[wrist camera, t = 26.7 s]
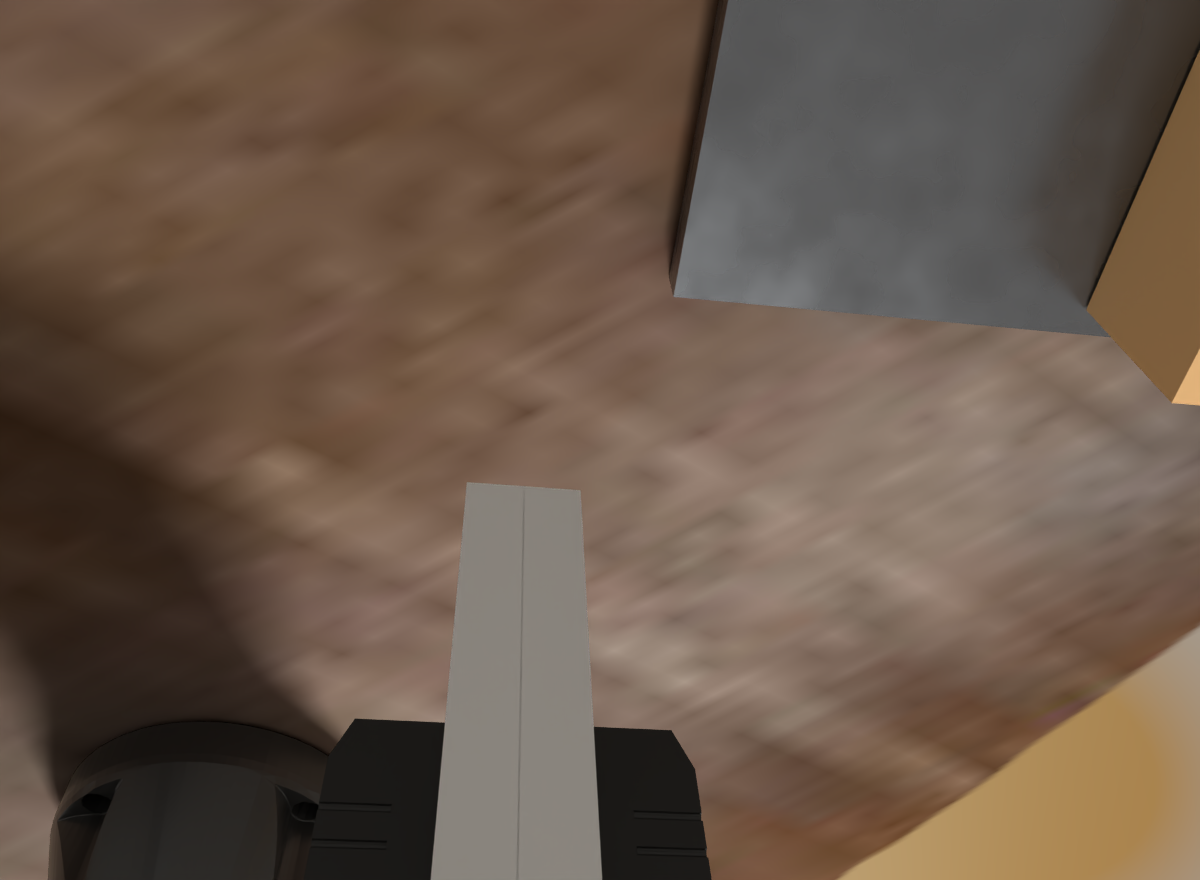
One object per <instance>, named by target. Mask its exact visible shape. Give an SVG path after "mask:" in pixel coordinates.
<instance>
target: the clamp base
mask: <svg viewBox="0 0 1200 880" xmlns="http://www.w3.org/2000/svg"><path fill="white" fill-rule="evenodd" d="M1199 50H1200V0H719V2H718V7H717V13H716V18H715V24H714V29H713V35H712V41H711V46H710V52H709V57H708V63H707V68H706V74H705V79H704V85H703V91H702V96H701V102H700V107H699V113H698V118H697V124H696V130H695V135H694V141H693V146H692V152H691V157H690V163H689V168H688V174H687V180H686V185H685V191H684V196H683V202H682V207H681V213H680V218H679V224H678V230H677V235H676V241H675V246H674V252H673V257H672V263H671V269H670V274H669V280H670V284H671V288H672V292H673V297H682V298H693V299H704V300H715V301H725V302H736V303H747V304H758V305H769V306H780V307H790V308H801V309H812V310H823V311H834V312H844V313H855V314H866V315H877V316H888V317H899V318H909V319H920V320H931V321H942V322H953V323H964V324H974V325H985V326H996V327H1007V328H1018V329H1029V330H1039V331H1050V332H1061V333H1072V334H1083V335H1093V336H1104V337H1110V335H1109V334H1108V333H1107V332H1106V331H1105V330H1104V329H1103V328H1102V327H1101V326H1100V325H1099V324H1098V322H1097V321H1096V320H1095V319H1094V318H1093V317H1092V316H1091V315H1090V314H1089V313H1088V312H1087V310H1086V309H1087V307H1088V305H1089V302H1090V300H1091V298H1092V295H1093V293H1094V291H1095V289H1096V286H1097V284H1098V282H1099V279H1100V277H1101V275H1102V272H1103V270H1104V268H1105V266H1106V263H1107V261H1108V259H1109V256H1110V254H1111V252H1112V250H1113V247H1114V245H1115V243H1116V240H1117V238H1118V236H1119V234H1120V231H1121V229H1122V227H1123V224H1124V222H1125V220H1126V217H1127V215H1128V213H1129V211H1130V208H1131V206H1132V204H1133V201H1134V199H1135V197H1136V195H1137V192H1138V190H1139V188H1140V185H1141V183H1142V181H1143V179H1144V176H1145V174H1146V172H1147V169H1148V167H1149V165H1150V162H1151V160H1152V158H1153V156H1154V153H1155V151H1156V149H1157V146H1158V144H1159V142H1160V140H1161V137H1162V135H1163V133H1164V130H1165V128H1166V126H1167V124H1168V121H1169V119H1170V117H1171V114H1172V112H1173V110H1174V107H1175V105H1176V103H1177V101H1178V98H1179V96H1180V94H1181V91H1182V89H1183V87H1184V85H1185V82H1186V80H1187V78H1188V75H1189V73H1190V71H1191V69H1192V66H1193V64H1194V62H1195V59H1196V57H1197V55H1198V52H1199Z"/></svg>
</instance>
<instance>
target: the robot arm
mask: <svg viewBox="0 0 1200 880" xmlns="http://www.w3.org/2000/svg"><path fill="white" fill-rule="evenodd" d="M706 850H707V846H706V840H705V833H704V826H703V821H701V806H700V800H699V793H698V786H697V780H696V773H695V768H694V767H693V765H692V763H691V762H690V760H689V759H688V757H687V755H686V754H685V752H684V750H683V749H682V747H681V745H680V744H679V742H678V741H677V739H676V737H675V736H674V734H673V732H672V731H671V730H651V729H629V728H606V727H594V724H593V706H592V688H591V670H590V652H589V634H588V617H587V599H586V581H585V563H584V545H583V527H582V509H581V491H580V490H569V489H554V488H540V487H526V486H512V485H498V484H483V483H469V482H467V488H466V499H465V510H464V521H463V532H462V543H461V554H460V565H459V576H458V587H457V597H456V608H455V619H454V630H453V641H452V652H451V663H450V674H449V685H448V696H447V707H446V718H445V723H439V722H417V721H394V720H372V719H355V720H354V721H353V722H352V724H351V725H350V727H349V728H348V729H347V731H346V732H345V734H344V735H343V736H342V738H341V739H340V741H339V742H338V743H337V745H336V746H335V748H334V749H333V750H332V752H331V753H330V755H329V756H327V755H326V754H324V753H322V752H320V751H319V750H317V749H315V748H313V747H311V746H309V745H307V744H305V743H302V742H300V741H298V740H295V739H293V738H290V737H287V736H285V735H281V734H278V733H275V732H272V731H268V730H264V729H260V728H255V727H250V726H245V725H239V724H230V723H220V722H182V723H172V724H164V725H158V726H153V727H149V728H145V729H141V730H137V731H134V732H131V733H128V734H126V735H123V736H120V737H118V738H116V739H114V740H112V741H110V742H108V743H106V744H105V745H103V746H101V747H100V748H98V749H97V750H95V751H94V752H93V753H92V754H90V755H89V756H88V757H87V758H86V759H85V760H84V761H83V762H82V763H81V764H80V765H79V767H78V768H77V769H76V771H75V772H74V774H73V776H72V778H71V780H70V782H69V784H68V786H67V789H66V791H65V793H64V796H63V798H62V800H61V803H60V805H59V807H58V810H57V812H56V814H55V817H54V820H53V824H52V828H51V834H50V848H49V868H48V880H711V873H710V866H709V860H708V858H707V855H706Z"/></svg>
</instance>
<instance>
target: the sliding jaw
mask: <svg viewBox="0 0 1200 880" xmlns="http://www.w3.org/2000/svg"><path fill="white" fill-rule="evenodd" d="M1086 310H1087V312H1088V313H1089V314H1090V315H1091V316H1092V317H1093V318H1094V319H1095V320H1096V321H1097V322H1098V324H1099V325H1100V326H1101V327H1102V328H1103V329H1104V330H1105V331H1106V332H1107V333H1108V334H1109V335H1110V337H1111V338H1112V339H1113V340H1114V341H1115V342H1116V343H1117V344H1118V345H1119V346H1120V347H1121V348H1122V350H1123V351H1124V352H1125V353H1126V354H1127V355H1128V356H1129V357H1130V358H1131V359H1132V360H1133V361H1134V363H1135V364H1136V365H1137V366H1138V367H1139V368H1140V369H1141V370H1142V371H1143V372H1144V373H1145V374H1146V376H1147V377H1148V378H1149V379H1150V380H1151V381H1152V382H1153V383H1154V384H1155V385H1156V386H1157V387H1158V389H1159V390H1160V391H1161V392H1162V393H1163V394H1164V395H1165V396H1166V397H1167V398H1168V399H1169V400H1170V402H1171V403H1179V404H1191V405H1200V50H1199V52H1198V55H1197V57H1196V59H1195V62H1194V64H1193V66H1192V69H1191V71H1190V73H1189V75H1188V78H1187V80H1186V82H1185V85H1184V87H1183V89H1182V91H1181V94H1180V96H1179V98H1178V101H1177V103H1176V105H1175V107H1174V110H1173V112H1172V114H1171V117H1170V119H1169V121H1168V124H1167V126H1166V128H1165V130H1164V133H1163V135H1162V137H1161V140H1160V142H1159V144H1158V146H1157V149H1156V151H1155V153H1154V156H1153V158H1152V160H1151V162H1150V165H1149V167H1148V169H1147V172H1146V174H1145V176H1144V179H1143V181H1142V183H1141V185H1140V188H1139V190H1138V192H1137V195H1136V197H1135V199H1134V201H1133V204H1132V206H1131V208H1130V211H1129V213H1128V215H1127V217H1126V220H1125V222H1124V224H1123V227H1122V229H1121V231H1120V234H1119V236H1118V238H1117V240H1116V243H1115V245H1114V247H1113V250H1112V252H1111V254H1110V256H1109V259H1108V261H1107V263H1106V266H1105V268H1104V270H1103V272H1102V275H1101V277H1100V279H1099V282H1098V284H1097V286H1096V289H1095V291H1094V293H1093V295H1092V298H1091V300H1090V302H1089V305H1088V307H1087V309H1086Z"/></svg>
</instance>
